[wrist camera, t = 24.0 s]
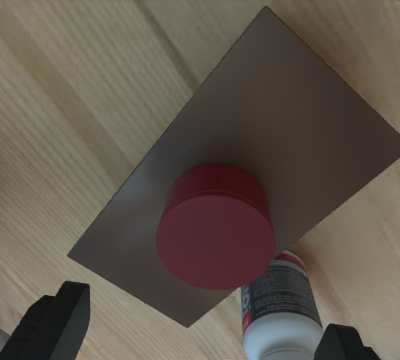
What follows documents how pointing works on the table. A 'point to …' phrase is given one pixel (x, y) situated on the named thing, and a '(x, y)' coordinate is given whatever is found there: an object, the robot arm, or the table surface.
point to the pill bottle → (280, 313)
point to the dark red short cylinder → (216, 228)
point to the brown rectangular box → (244, 160)
